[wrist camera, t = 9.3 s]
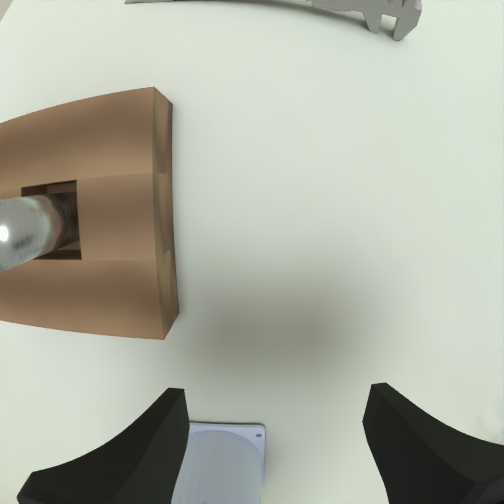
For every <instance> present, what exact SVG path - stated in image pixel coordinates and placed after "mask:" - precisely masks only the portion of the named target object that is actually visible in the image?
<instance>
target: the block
mask: <svg viewBox="0 0 504 504" xmlns="http://www.w3.org/2000/svg"><path fill="white" fill-rule="evenodd" d="M64 192H77V206H78V222H79V235H80V241H78V242H75V243H73V244H70V245H67V246H65V247H62V248H59V249H57V250H54V251H52V252H49V253H47V254H44V255H42V256H39V257H37V258H34V259H32V260H29V261H27V262H24V263H22V264H19V265H17V266H15V267H12V268H10V269H7V270H5V271H2V272H0V320H1V321H6V322H12V323H18V324H24V325H30V326H36V327H43V328H50V329H57V330H64V331H72V332H80V333H89V334H98V335H108V336H119V337H131V338H145V339H160V340H164V339H165V337H166V336H167V334H168V332H169V330H170V328H171V327H172V325H173V323H174V321H175V319H176V318H177V316H178V314H179V308H178V296H177V283H176V269H175V252H174V233H173V207H172V103H171V102H170V101H169V100H168V99H167V98H166V97H165V96H164V95H162V94H161V93H160V92H159V91H158V90H157V89H156V88H155V87H148V88H141V89H134V90H128V91H122V92H116V93H111V94H105V95H100V96H95V97H91V98H86V99H82V100H77V101H73V102H69V103H65V104H61V105H57V106H54V107H50V108H46V109H43V110H39V111H36V112H33V113H29V114H26V115H23V116H20V117H17V118H14V119H11V120H8V121H5V122H3V123H0V199H8V198H16V197H25V196H33V195H43V194H53V193H64Z"/></svg>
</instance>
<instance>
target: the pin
mask: <svg viewBox="0 0 504 504" xmlns="http://www.w3.org/2000/svg"><path fill="white" fill-rule="evenodd" d="M78 241H80V235H79V222H78V206H77V192H64V193H53V194H43V195H33V196H25V197H16V198H8V199H0V272H2V271H5V270H7V269H10V268H12V267H15V266H17V265H19V264H22V263H24V262H27V261H29V260H32V259H34V258H37V257H39V256H42V255H44V254H47V253H49V252H52V251H54V250H57V249H59V248H62V247H65V246H67V245H70V244H73V243H75V242H78Z"/></svg>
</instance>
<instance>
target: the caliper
mask: <svg viewBox="0 0 504 504" xmlns="http://www.w3.org/2000/svg"><path fill="white" fill-rule="evenodd" d="M164 1H172V0H126V1H125V4H131V3H136V2H141V3H148V2H164ZM306 1H311V2H312V6H313V7H315V8H329V9H332V10H335V11H351V10H354V11H358V12H362V13H363V15H364V18H365V20H366V23H367V25H368V28H369V30H370V32H372V33H375V34H377V30H379V27H380V22H381V15H382V14H384V15H388V16H392V17H396V18H397V19H396V23H395V26H394V29H393V40H401V39H403V38H404V37H405V36H406V35H407V34H408V33H409V32H410V31H411V30H412V29H414V28H415V27H416V26H417V23H418V20H419V17H420V14H421V11H422V6H421V0H306Z"/></svg>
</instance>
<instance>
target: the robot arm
mask: <svg viewBox="0 0 504 504" xmlns="http://www.w3.org/2000/svg"><path fill="white" fill-rule="evenodd" d="M362 422H363V426H364V431H365V435H366V439H367V442H368V445H369V447H370V450H371V452H372V455H373V457H374V460H375V462H376V465H377V467H378V470H379V472H380V475H381V477H382V480H383V482H384V485H385V488H386V492H387V496H388V500H389V504H504V445H499V444H495V443H491V442H487V441H484V440H481V439H478V438H475V437H472V436H470V435H467V434H465V433H462V432H460V431H458V430H456V429H454V428H452V427H450V426H448V425H446V424H444V423H442V422H440V421H439V420H437V419H436V418H434V417H432V416H431V415H429V414H428V413H426V412H425V411H423V410H422V409H420V408H419V407H418V406H416V405H415V404H414V403H412V402H411V401H410V400H408V399H407V398H406V397H404V396H403V395H402V394H400V393H399V392H398V391H396V390H395V389H394V388H393V387H391V386H390V385H388V384H387V383H386V382H385V383H378V384H372V385H371V389H370V393H369V397H368V402H367V406H366V409H365V413H364V417H363V421H362ZM258 433H259V434H258ZM264 447H265V428H264V426H262V425H231V424H206V423H191V422H189V417H188V411H187V405H186V399H185V393H184V389H179V388H168V389H167V390H166V391H165V392H164V393H163V394H162V395H161V396H160V397H159V398H158V399H157V400H156V401H155V402H154V403H153V404H152V405H151V406H150V407H149V408H148V409H147V410H146V411H145V412H144V413H143V414H142V415H141V416H140V417H139V418H138V419H137V420H135V421H134V422H133V423H132V424H131V425H129V426H128V427H127V428H126V429H125V430H123V431H122V432H121V433H120V434H118V435H117V436H116V437H114V438H113V439H111V440H110V441H108V442H107V443H105V444H104V445H102V446H100V447H99V448H97V449H95V450H93V451H91V452H89V453H87V454H85V455H83V456H81V457H79V458H77V459H74V460H72V461H69V462H66V463H64V464H61V465H58V466H55V467H51V468H47V469H43V470H39V471H35V472H32V473H31V475H30V476H29V478H28V479H27V481H26V482H25V484H24V485H23V487H22V489H21V490H20V492H19V493H18V495H17V500H18V502H19V504H260V488H262V487H263V480H264Z"/></svg>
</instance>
